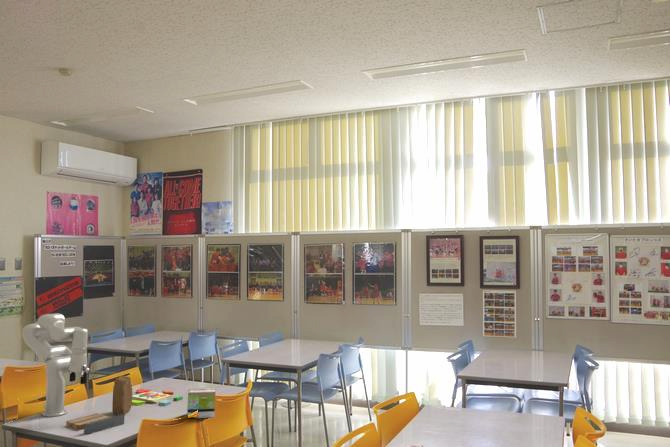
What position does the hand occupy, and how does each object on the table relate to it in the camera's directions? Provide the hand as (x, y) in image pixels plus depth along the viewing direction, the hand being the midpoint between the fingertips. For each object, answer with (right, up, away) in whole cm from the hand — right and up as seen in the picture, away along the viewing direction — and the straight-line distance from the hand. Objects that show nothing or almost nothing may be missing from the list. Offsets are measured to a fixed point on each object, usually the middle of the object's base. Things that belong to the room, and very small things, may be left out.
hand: (77, 382), depth 299 cm
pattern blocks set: (+26, -24, +46) cm, 58 cm away
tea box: (+66, -22, +10) cm, 70 cm away
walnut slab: (+10, -21, -8) cm, 24 cm away
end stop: (+21, -20, -15) cm, 33 cm away
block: (+19, -22, +14) cm, 32 cm away
